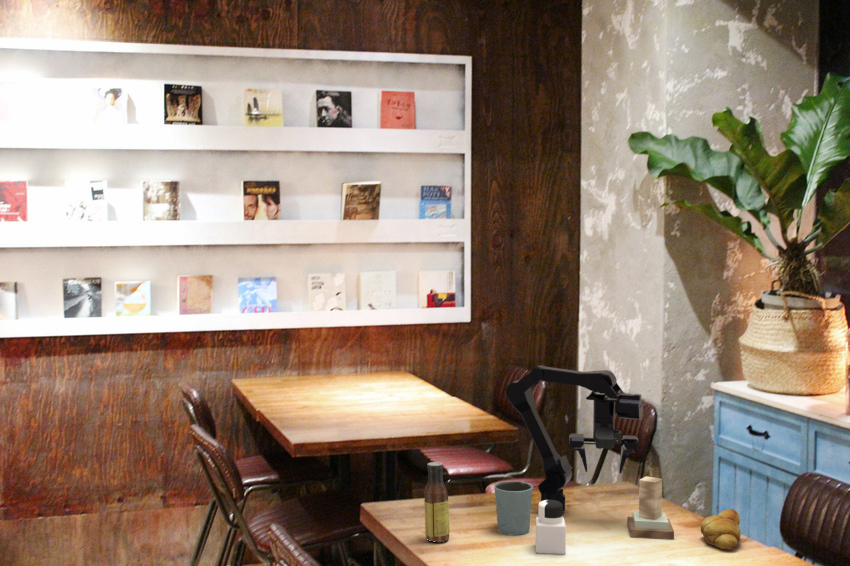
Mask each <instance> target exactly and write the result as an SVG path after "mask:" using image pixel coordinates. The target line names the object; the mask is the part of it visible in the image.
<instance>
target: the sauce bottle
mask: <svg viewBox="0 0 850 566" xmlns="http://www.w3.org/2000/svg"><path fill="white" fill-rule="evenodd" d="M426 468H427V471H428V473H427V476H428V477H427V480H428V481H427V483H426V484H425V487H424V493H423V494H424V500H423V501H424V504H423V505H424V531H425V532H424V534H425V538H427V539H428V540H430V541H435V542H442V543H444V542H443V541H446V542H447V541H449V539H450V511H449V509H450V508H449V507H450V506H449V495H448V490H447V489H448V488H446V485H445V483H444V477H443V476H444V475H443V469H444V464H443V463H442V462H440V461H431V462H428V463H427V465H426ZM427 539H426V540H427ZM428 540H427V541H428Z"/></svg>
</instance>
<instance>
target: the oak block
mask: <svg viewBox="0 0 850 566" xmlns="http://www.w3.org/2000/svg"><path fill="white" fill-rule="evenodd" d="M638 481H639V485H638V486H639V487H638V489H639V490H638V492H639V493H638V495H639V496H638V499H639V500H638V511H639V517H641V518H646V519H651V520H657V519H658V518H660V517H661V516H662V511H663V506H662V505H663V502H662V501H663V478H659V477H654V476H653V477H652V476H643V477H642V478H640V479H639V480H638Z"/></svg>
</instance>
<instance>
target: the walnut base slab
mask: <svg viewBox="0 0 850 566" xmlns="http://www.w3.org/2000/svg"><path fill="white" fill-rule="evenodd" d="M667 519H668V522H669V530H658V529H639V528H635V526H634V522H633V516H627V522H626V523H627V528H628V533H629V537H630V538H636V539H637V538H638V539H639V538H642V539H659V540H675V530H674V528H673V525H672V523H671V520H670V518H667Z"/></svg>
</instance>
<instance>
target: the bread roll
mask: <svg viewBox="0 0 850 566" xmlns="http://www.w3.org/2000/svg"><path fill="white" fill-rule="evenodd" d="M740 521H741V519H740V514H739V513H738V512H737V511H736V510H735V509H732V508H729V509H724V510H723V511H721V512H720V513H718V514H715V515H714V514H713V515H711V516H707V517H705V518H704V519H703V521H702V522H701V524H700V532H701V534H702V536H703V538H704V540H705V542H706V543H708V544H709V545H713V546H715V547H716V548H719V549H722V550H733V549H735V548H736V547H737V545H738V543H739V542H740V541H741V528H740V523H741V522H740Z"/></svg>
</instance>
